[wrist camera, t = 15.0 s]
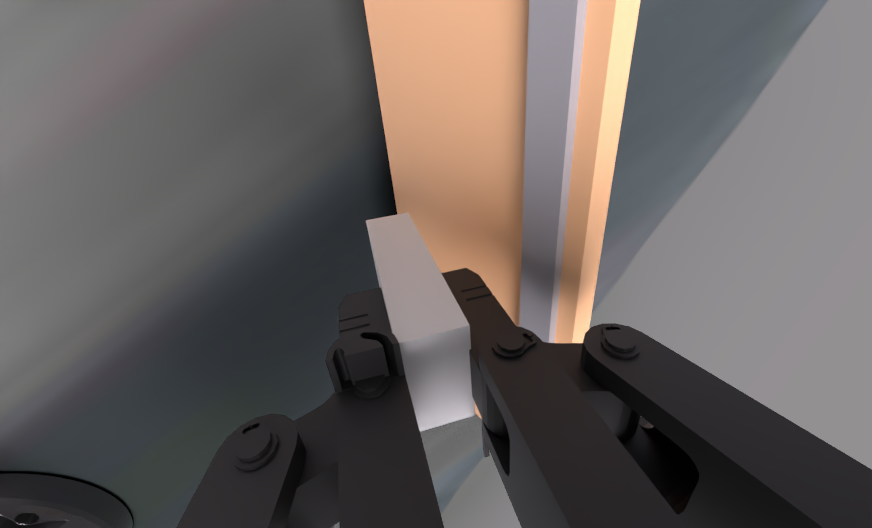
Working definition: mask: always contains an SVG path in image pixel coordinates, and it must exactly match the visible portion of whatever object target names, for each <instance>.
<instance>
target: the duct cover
mask: <svg viewBox="0 0 872 528" xmlns="http://www.w3.org/2000/svg"><path fill="white" fill-rule="evenodd" d="M364 6H365V12H366V18H367V25H368V31H369V37H370V44H371V50H372V56H373V63H374V69H375V75H376V82H377V88H378V94H379V101H380V107H381V113H382V120H383V126H384V132H385V139H386V145H387V151H388V158H389V164H390V170H391V177H392V183H393V189H394V196H395V202H396V208H397V214H402V213H409V215H410V217H411V219H412V221H413V223H414V224H415V226H416V228H417V230H418V232H419V234H420V235H421V237H422V239H423V241H424V243H425V245H426V246H427V248H428V250H429V252H430V254H431V255H432V257H433V259H434V261H435V263H436V265H437V266H438V268H439V270H440V272H441V273H444V272H449V271H453V270H458V269H462V268H468V269H469V270H471V271H473V272H475V273H477V274H478V275H480V277H481V278H482V280H483V281H484V282H485V284H486V286H487V287H488V288H489V289H490V291H491V292H492V294H493V295H494V296H495V298H496V299H497V300H498V302H499V303H500V304H501V306H502V307H503V309H504V310H505V311H506V313H507V314H508V315H509V317H510V318H511V320H512V321H513V322H514V324H515V325H516V326H518V327H523V328H525V329H527V330H530V331H532V332H533V333H534V334H536V335H537V336H538V337H539V338H540V339H541V340H542V341H543V342H547V343H583V340H584V336H585V333H586V332H587V331H588V330H589V325H590V319H591V313H592V306H593V300H594V293H595V287H596V281H597V274H598V268H599V262H600V255H601V249H602V242H603V236H604V230H605V223H606V217H607V210H608V204H609V198H610V191H611V185H612V178H613V172H614V166H615V159H616V153H617V147H618V140H619V134H620V127H621V121H622V115H623V108H624V102H625V95H626V89H627V83H628V76H629V70H630V63H631V57H632V51H633V44H634V38H635V31H636V25H637V19H638V12H639V6H640V0H364ZM474 403H475V401H474ZM475 413H476V414H477V415H478V416H479V417H480V418H481V419H482V417H481V415H480V413H479V411H478V408H477V406H476V404H475Z"/></svg>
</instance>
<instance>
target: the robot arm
mask: <svg viewBox="0 0 872 528" xmlns="http://www.w3.org/2000/svg"><path fill="white" fill-rule="evenodd" d="M366 224H367V229H368V234H369V239H370V243H371V248H372V253H373V258H374V263H375V268H376V272H377V277H378V282H379V287H380V288H377V289H372V290H368V291H363V292H359V293H354V294H350V295H346V296H345V298H344V299H343V301H342V303H341V304H340V306H339V328H340V339H338V340H337V341H336V342H335V343H334V344H333V345H332V347H331V348H330V349H329V350H328V353H327V357H326V360H325V362H326V365H327V368H328V370H329V373H330V376H331V379H332V382H333V385H334V388H335V392H334V393H333V395H332V396H331V397H330V398H329V399H328V400H327V401H326V402H325V403H324V404H323V405H321V406H319V407H318V408H316V409H315V410H313V411H312V412H310V413H308V414H306V415H304V416H303V417H301V418H299V419H297V420H295V421H292V420H291V419H289V418H288V417H286V416H285V415H275V414H270V415H266V416H261V417H257V418H255V419H253V420H251V421H249V422H247V423H245V424H244V425H242V426H240V427H239V428H238V429H237V430H236V431H234V432H233V433H232V434H231V435H230V436H229V437H227V439H226V440H225V441H224V443H223V444H222V446H221V447H220V448H219V450H218V451H217V453H216V455H215V456H214V458H213V460H212V462H211V464H210V466H209V468H208V470H207V471H206V473H205V475H204V477H203V479H202V481H201V483H200V485H199V486H198V488H197V490H196V492H195V494H194V496H193V498H192V500H191V501H190V503H189V505H188V507H187V509H186V511H185V513H184V514H183V516H182V518H181V520H180V522H179V524H178V526H177V528H334V525H335V524H336V523H338V522H339V521H340V528H444V526H443V522H442V518H441V514H440V510H439V506H438V502H437V498H436V494H435V490H434V486H433V482H432V478H431V475H430V471H429V467H428V463H427V459H426V455H425V451H424V447H423V443H422V439H421V435H420V431H424V430H427V429H430V428H434V427H437V426H441V425H444V424H447V423H451V422H454V421H457V420H461V419H464V418H468V417H471V416H474V415H475V404H476V406H477V408H478V411H479V413H480V415H481V417H482V437H483V450H484V456H485V457H488V456H489V450H490V453H491V455H492V457H493V460H494V462H495V465H496V467H497V469H498V472H499V474H500V476H501V479H502V481H503V484H504V486H505V489H506V491H507V493H508V496H509V498H510V501H511V503H512V505H513V508H514V510H515V513H516V515H517V517H518V520H519V522H520V525H521V527H522V528H872V470H871V469H870V468H868V467H866V466H865V465H863V464H861V463H860V462H858V461H856V460H855V459H853V458H851V457H850V456H848V455H846V454H845V453H843V452H841V451H840V450H838V449H836V448H835V447H833V446H831V445H829V444H828V443H826V442H825V441H823V440H821V439H819V438H818V437H816V436H814V435H813V434H811V433H809V432H808V431H806V430H804V429H803V428H801V427H799V426H798V425H796V424H794V423H793V422H791V421H789V420H788V419H786V418H784V417H783V416H781V415H779V414H778V413H776V412H774V411H772V410H771V409H769V408H768V407H766V406H764V405H763V404H761V403H759V402H758V401H756V400H754V399H753V398H751V397H749V396H748V395H746V394H744V393H743V392H741V391H739V390H738V389H736V388H734V387H732V386H731V385H729V384H727V383H726V382H724V381H722V380H721V379H719V378H717V377H716V376H714V375H712V374H711V373H709V372H707V371H706V370H704V369H702V368H701V367H699V366H697V365H696V364H694V363H692V362H691V361H689V360H687V359H686V358H684V357H682V356H681V355H679V354H677V353H676V352H674V351H672V350H670V349H669V348H667V347H666V346H664V345H662V344H661V343H659V342H657V341H655V340H654V339H652V338H650V337H649V336H647V335H645V334H644V333H642V332H640V331H638V330H635V329H633V328H631V327H629V326H624V325H619V324H601V325H597V326H594V327H591V328H590V329H589V330H588V331H587V332H586V333H585V336H584V340H583V343H547V342H543V341H542V340H541V339H540V338H539V337H538V336H537V335H536V334H534V333H533V332H532V331H530V330H527V329H525V328H523V327H518V326H516V325H515V324H514V322H513V321H512V320H511V318H510V317H509V315H508V314H507V313H506V311H505V310H504V309H503V307H502V306H501V304H500V303H499V302H498V300H497V299H496V298H495V296H494V295H493V294H492V292H491V291H490V289H489V288H488V287H487V286H486V284H485V282H484V281H483V280H482V278H481V277H480V275H478V274H477V273H475V272H473V271H471V270H469V269H468V268H462V269H458V270H453V271H449V272H444V273H441V272H440V270H439V268H438V266H437V265H436V263H435V261H434V259H433V257H432V255H431V254H430V252H429V250H428V248H427V246H426V245H425V243H424V241H423V239H422V237H421V235H420V234H419V232H418V230H417V228H416V226H415V224H414V223H413V221H412V219H411V217H410V215H409V213H402V214H397V215H392V216H386V217H381V218H376V219H370V220H366ZM474 401H475V403H474ZM642 417H643V418H642ZM0 528H133V521H132V517H131V515H130V513H129V511H128V510H127V508H126V507H125V506H124V505H123V504H122V503H121V502H120V501H119V500H117V499H116V498H115V497H113V496H112V495H110V494H108V493H106V492H104V491H102V490H100V489H98V488H96V487H93V486H90V485H88V484H85V483H81V482H78V481H74V480H70V479H65V478H60V477H54V476H46V475H36V474H0Z"/></svg>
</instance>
